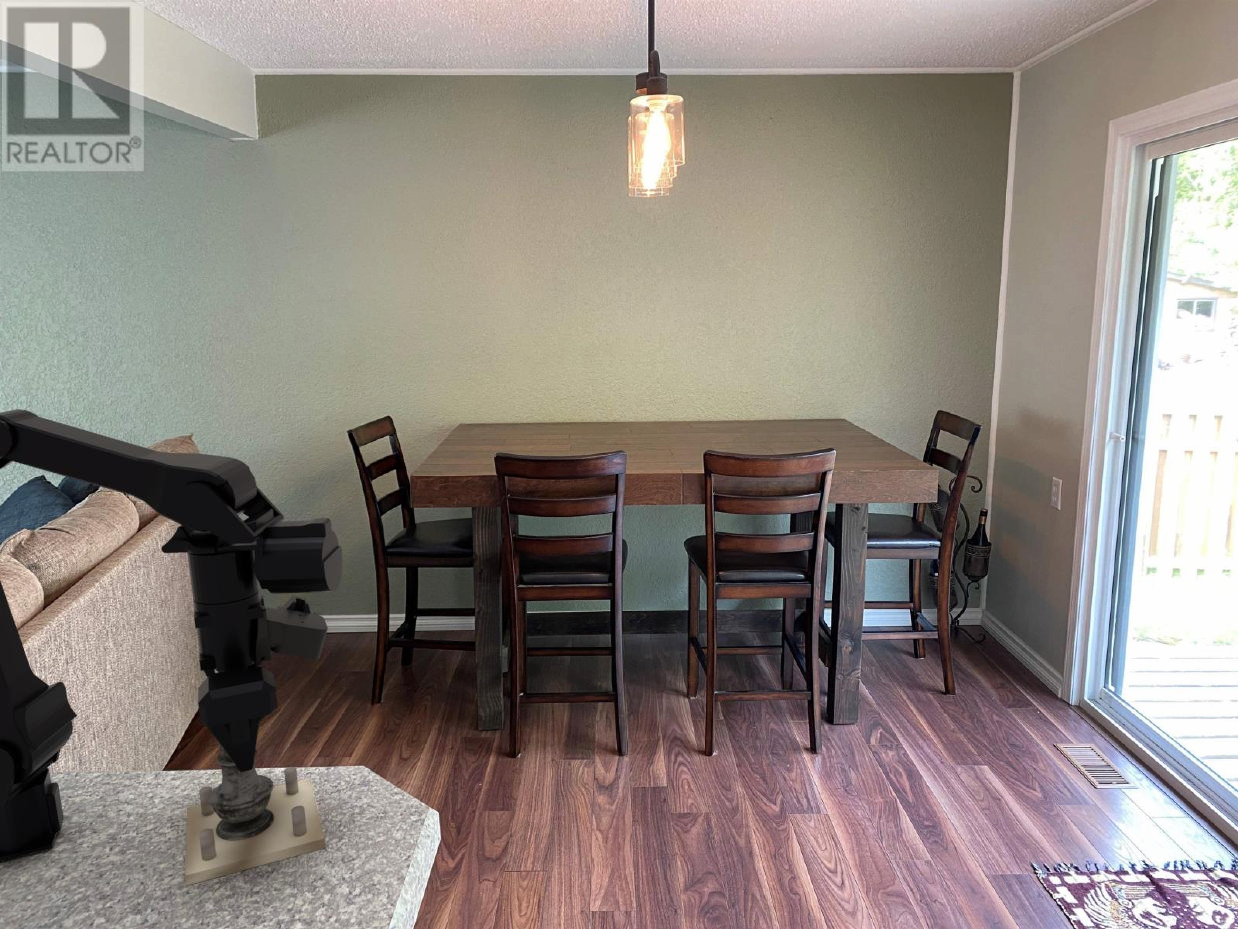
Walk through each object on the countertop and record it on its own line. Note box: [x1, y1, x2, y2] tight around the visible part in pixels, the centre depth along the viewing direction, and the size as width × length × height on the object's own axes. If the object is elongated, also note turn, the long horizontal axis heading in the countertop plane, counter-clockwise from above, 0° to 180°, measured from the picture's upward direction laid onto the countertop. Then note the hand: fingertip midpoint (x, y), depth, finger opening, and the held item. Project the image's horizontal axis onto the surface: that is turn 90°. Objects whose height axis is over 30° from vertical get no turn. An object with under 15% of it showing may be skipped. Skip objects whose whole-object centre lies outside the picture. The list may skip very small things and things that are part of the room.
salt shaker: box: [208, 742, 274, 841], centre depth 85 cm, size 6×6×12 cm
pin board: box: [184, 766, 326, 886], centre depth 86 cm, size 12×12×4 cm
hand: (244, 747), depth 85 cm, fingers open, 9 cm apart
